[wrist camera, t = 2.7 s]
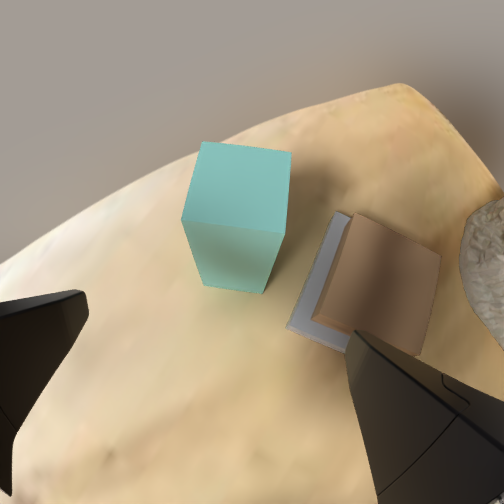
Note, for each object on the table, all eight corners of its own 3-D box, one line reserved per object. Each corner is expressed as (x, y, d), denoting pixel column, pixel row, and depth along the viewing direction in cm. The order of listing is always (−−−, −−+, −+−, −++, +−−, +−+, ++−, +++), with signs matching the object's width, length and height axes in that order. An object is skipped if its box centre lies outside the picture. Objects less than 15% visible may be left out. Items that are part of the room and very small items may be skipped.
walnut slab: (425, 266, 23) (441, 256, 21) (402, 357, 20) (419, 355, 18) (344, 226, 24) (355, 212, 22) (310, 319, 21) (319, 313, 19)
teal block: (262, 293, 23) (285, 233, 13) (203, 285, 23) (180, 219, 13) (268, 239, 25) (291, 152, 15) (213, 231, 25) (202, 141, 15)
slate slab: (420, 270, 26) (435, 261, 23) (391, 374, 22) (405, 373, 20) (327, 224, 27) (335, 211, 24) (283, 329, 23) (289, 325, 21)
